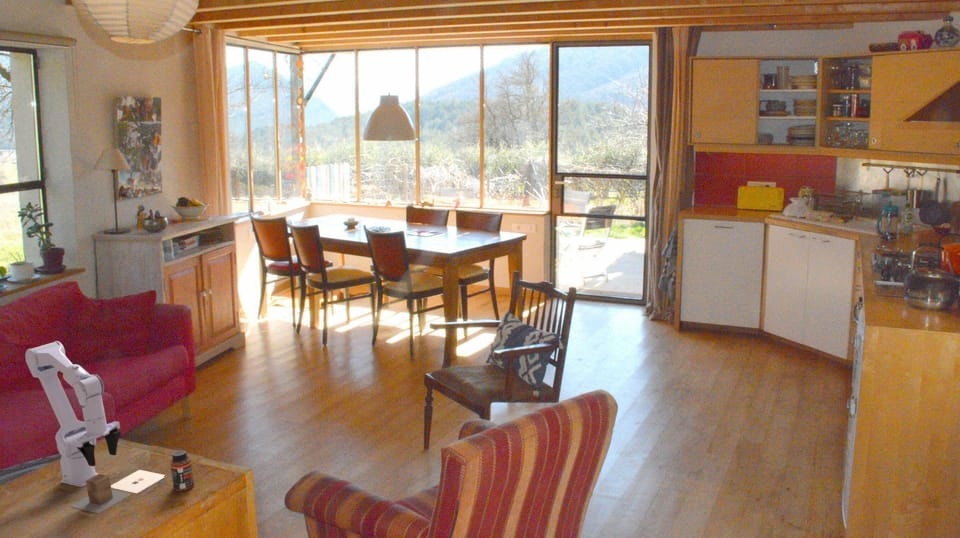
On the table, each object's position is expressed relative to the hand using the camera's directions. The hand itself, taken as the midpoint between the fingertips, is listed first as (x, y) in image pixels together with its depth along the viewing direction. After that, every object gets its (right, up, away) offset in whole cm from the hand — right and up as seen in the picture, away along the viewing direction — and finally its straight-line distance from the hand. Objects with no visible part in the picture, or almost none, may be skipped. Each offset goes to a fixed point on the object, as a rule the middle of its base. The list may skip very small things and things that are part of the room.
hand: (102, 460), depth 262 cm
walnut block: (+1, -11, -3) cm, 12 cm away
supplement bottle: (+24, -9, +2) cm, 25 cm away
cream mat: (+7, -8, +8) cm, 14 cm away
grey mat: (+1, -11, -3) cm, 12 cm away
